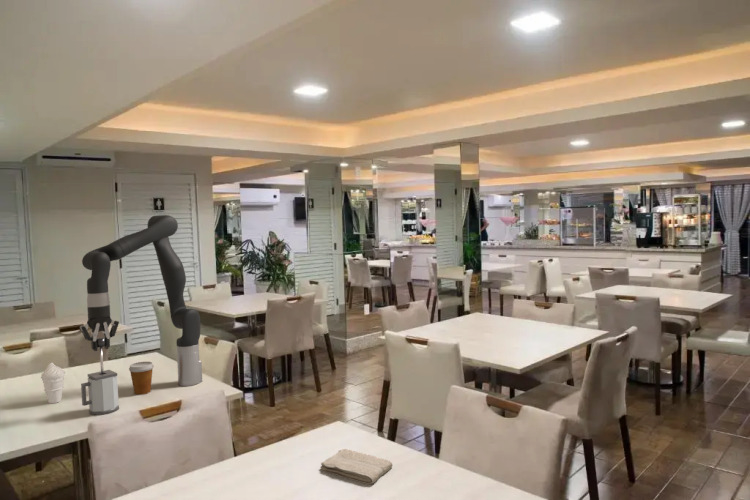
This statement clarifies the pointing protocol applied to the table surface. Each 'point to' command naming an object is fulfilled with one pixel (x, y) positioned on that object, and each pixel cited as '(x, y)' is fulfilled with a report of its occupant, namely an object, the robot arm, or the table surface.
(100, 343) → the plunger
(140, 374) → the disposable coffee cup
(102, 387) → the carafe
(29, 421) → the table surface
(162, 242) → the robot arm
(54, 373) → the soft serve ice cream cone
